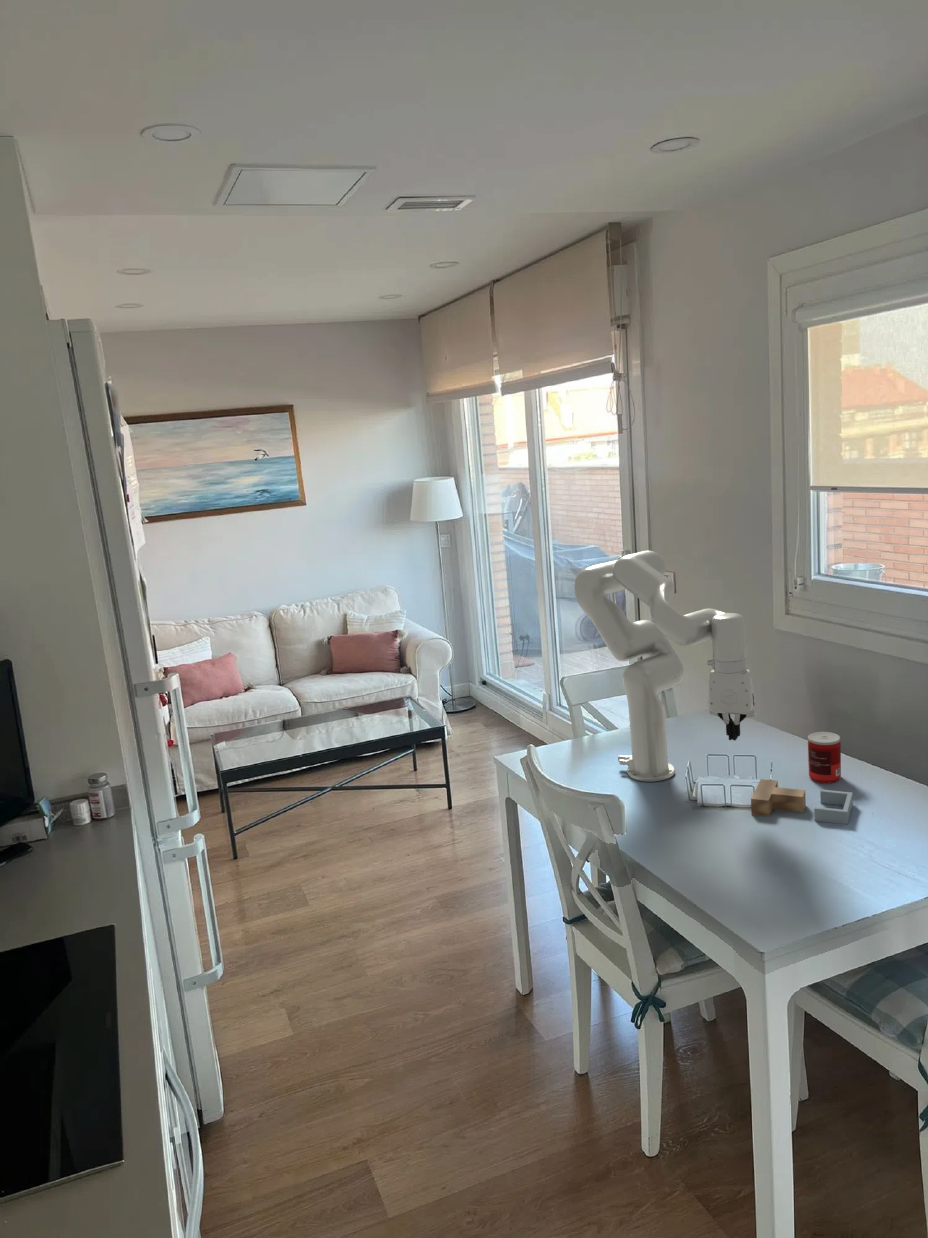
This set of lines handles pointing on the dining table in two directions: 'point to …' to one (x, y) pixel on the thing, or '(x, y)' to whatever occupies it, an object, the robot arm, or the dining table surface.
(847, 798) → the bracket
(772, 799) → the t block
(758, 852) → the dining table surface
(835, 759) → the canned food
